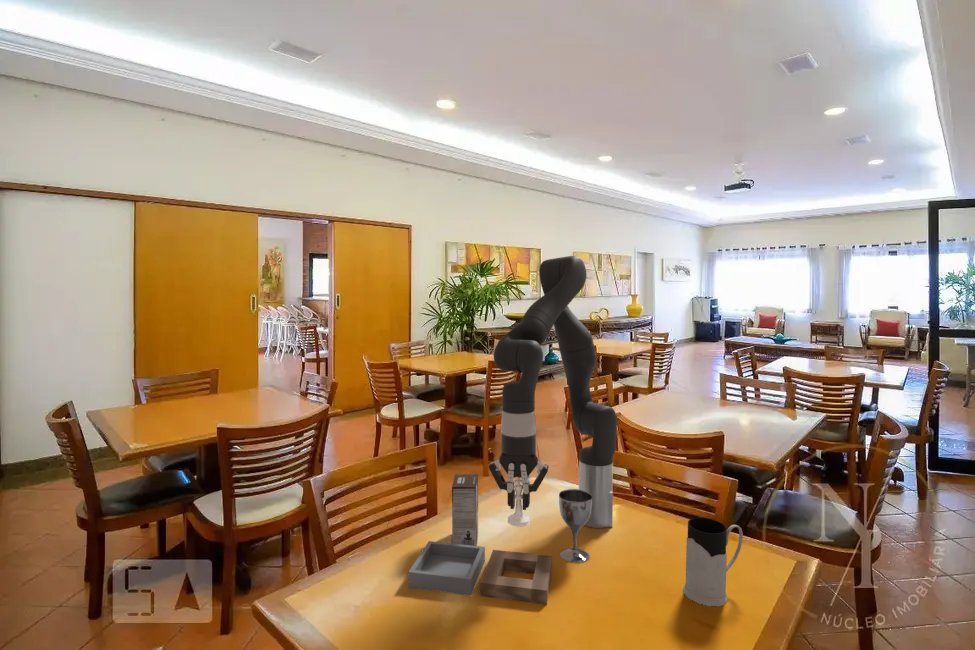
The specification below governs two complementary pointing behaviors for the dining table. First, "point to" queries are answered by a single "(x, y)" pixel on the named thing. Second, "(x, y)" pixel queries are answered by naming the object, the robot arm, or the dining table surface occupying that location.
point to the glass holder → (708, 561)
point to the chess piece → (518, 508)
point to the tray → (447, 568)
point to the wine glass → (575, 520)
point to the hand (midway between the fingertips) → (518, 507)
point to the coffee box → (465, 509)
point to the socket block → (516, 587)
